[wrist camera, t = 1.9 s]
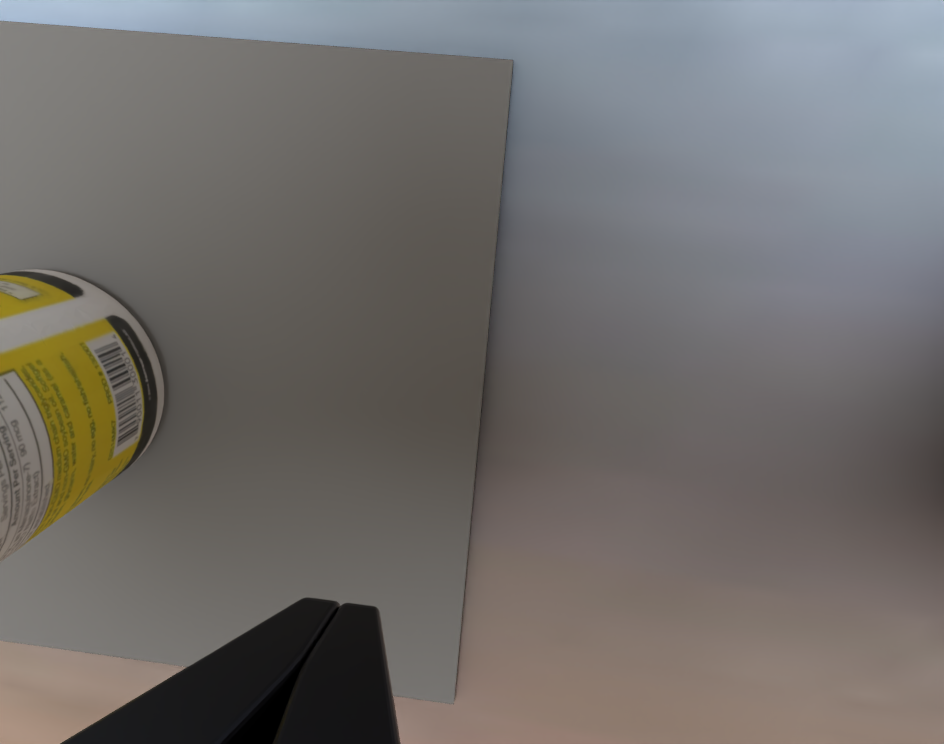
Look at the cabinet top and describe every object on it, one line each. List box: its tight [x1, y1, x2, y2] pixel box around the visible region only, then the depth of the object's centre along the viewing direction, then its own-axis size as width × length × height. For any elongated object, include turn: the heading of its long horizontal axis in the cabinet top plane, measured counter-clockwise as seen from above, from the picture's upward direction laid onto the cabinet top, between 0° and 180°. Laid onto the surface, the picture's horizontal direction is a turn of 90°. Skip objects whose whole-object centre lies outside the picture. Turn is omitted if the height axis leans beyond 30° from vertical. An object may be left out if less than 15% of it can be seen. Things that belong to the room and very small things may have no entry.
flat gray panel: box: [0, 21, 513, 704], centre depth 16 cm, size 20×14×1 cm
